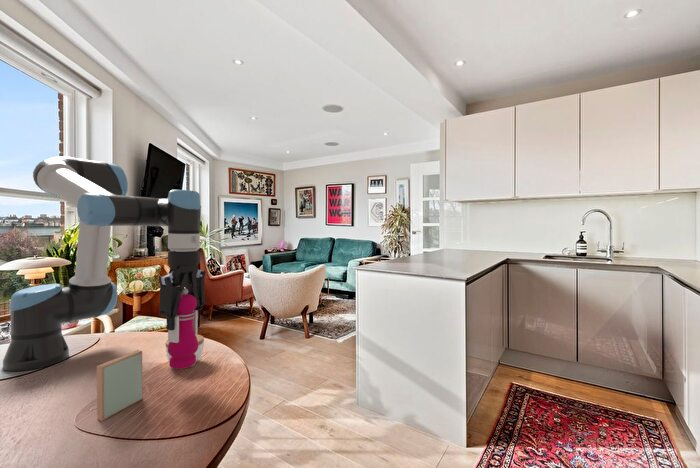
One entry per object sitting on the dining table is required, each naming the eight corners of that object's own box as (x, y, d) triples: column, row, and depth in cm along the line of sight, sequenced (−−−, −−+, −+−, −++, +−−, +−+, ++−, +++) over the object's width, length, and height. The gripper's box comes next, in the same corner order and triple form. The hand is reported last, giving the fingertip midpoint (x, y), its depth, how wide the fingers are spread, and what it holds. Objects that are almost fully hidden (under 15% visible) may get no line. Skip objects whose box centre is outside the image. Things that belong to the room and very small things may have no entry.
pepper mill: (204, 361, 91) (205, 287, 90) (182, 371, 84) (184, 292, 83) (183, 356, 93) (184, 284, 93) (160, 366, 86) (162, 289, 86)
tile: (97, 419, 74) (96, 366, 74) (137, 397, 84) (137, 350, 84) (103, 421, 74) (102, 367, 74) (143, 398, 84) (143, 351, 83)
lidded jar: (210, 358, 109) (210, 329, 109) (191, 372, 99) (191, 341, 98) (179, 356, 110) (179, 328, 110) (157, 370, 100) (157, 339, 99)
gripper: (166, 253, 77) (165, 352, 78) (220, 248, 95) (219, 329, 96) (141, 251, 80) (140, 348, 80) (198, 247, 98) (197, 325, 98)
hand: (183, 337), depth 88 cm, fingers closed on pepper mill, 6 cm apart
